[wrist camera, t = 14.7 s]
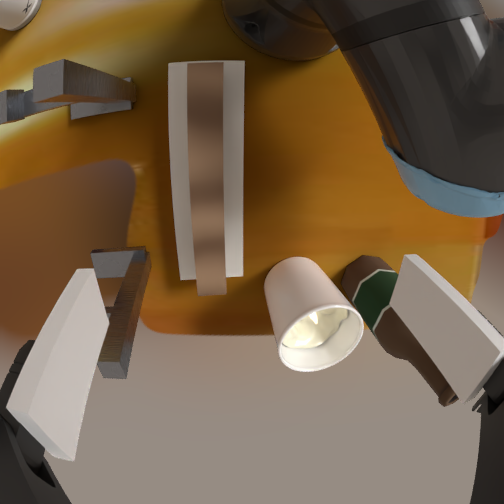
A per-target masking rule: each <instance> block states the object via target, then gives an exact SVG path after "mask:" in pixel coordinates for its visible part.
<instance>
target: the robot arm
mask: <svg viewBox="0 0 504 504" xmlns="http://www.w3.org/2000/svg"><path fill="white" fill-rule="evenodd" d="M222 7H223V12H224V15H225V17H226V20H227V22H228V24H229V25H230V27H231V28H232V30H233V31H234V32H235V33H236V35H237V36H238V37H239V38H240V39H242V40H243V41H244V42H245V43H246V44H248V45H249V46H251V47H252V48H254V49H256V50H257V51H259V52H261V53H264V54H266V55H269V56H272V57H275V58H279V59H283V60H291V61H305V60H311V59H316V58H319V57H322V56H324V55H327V54H329V53H332V52H334V51H336V50H337V49H339V48H340V50H341V52H342V54H343V56H344V57H345V59H346V61H347V63H348V65H349V66H350V68H351V70H352V72H353V74H354V76H355V77H356V79H357V81H358V83H359V85H360V87H361V89H362V91H363V93H364V95H365V97H366V99H367V101H368V103H369V105H370V107H371V110H372V112H373V114H374V116H375V118H376V120H377V123H378V125H379V127H380V130H381V132H382V134H383V136H382V140H383V143H384V145H385V147H386V149H387V151H388V152H389V153H390V155H391V156H392V158H393V160H394V162H395V165H396V167H397V169H398V172H399V174H400V176H401V179H402V180H403V182H404V184H405V185H406V187H407V188H408V189H409V190H410V191H411V192H412V193H413V194H414V195H415V196H416V197H418V198H420V199H422V200H424V201H425V202H426V203H427V204H428V205H430V206H431V207H433V208H436V209H438V210H441V211H443V212H446V213H450V214H454V215H458V216H465V217H491V216H497V215H501V214H503V213H504V17H503V18H496V19H488V17H487V15H486V14H485V11H484V9H483V7H482V5H481V3H480V2H479V0H222ZM389 304H390V306H391V307H392V308H393V309H394V311H395V312H396V313H397V314H398V316H399V317H400V318H401V319H402V321H403V322H404V323H405V325H406V326H407V327H408V328H409V330H410V331H411V332H412V334H413V335H414V336H415V338H416V339H417V340H418V342H419V343H420V344H421V346H422V347H423V348H424V350H425V351H426V352H427V354H428V355H429V356H430V358H431V359H432V360H433V362H434V363H435V365H436V366H437V367H438V369H439V370H440V372H441V373H442V374H443V376H444V377H445V379H446V380H447V382H448V383H449V384H450V386H451V387H452V389H453V390H454V392H455V393H456V395H457V396H458V398H459V399H460V401H461V402H462V403H463V404H464V403H466V402H468V401H470V400H471V399H473V398H475V396H476V395H477V394H478V393H479V391H480V390H481V389H482V387H483V388H484V390H485V392H484V394H483V395H482V396H481V397H480V399H479V400H478V401H477V402H476V404H475V405H474V406H473V408H472V411H474V410H475V409H476V408H477V407H478V406H479V405H480V404H481V406H480V408H479V409H478V410H477V412H479V413H481V429H480V443H479V453H478V462H477V468H476V475H475V481H474V486H473V492H472V496H471V501H470V504H504V337H503V336H502V335H501V333H500V332H499V331H498V330H497V329H496V328H495V327H494V326H492V324H491V323H490V322H489V321H488V320H486V318H485V317H484V316H483V315H482V314H481V313H480V311H478V310H477V309H475V308H474V307H473V306H472V305H471V304H470V303H469V302H468V301H467V300H466V299H465V298H464V297H463V296H462V295H461V294H460V293H459V292H458V291H457V290H456V289H455V288H454V287H453V286H452V285H450V284H449V283H448V282H447V281H446V280H445V279H444V278H443V277H442V276H441V275H440V274H438V273H437V272H436V271H435V270H434V269H433V268H432V267H431V266H429V265H428V264H427V263H426V262H425V261H424V260H423V259H421V258H420V257H419V256H418V255H417V254H411V255H404V258H403V262H402V265H401V269H400V272H399V275H398V279H397V282H396V285H395V288H394V291H393V294H392V297H391V300H390V303H389ZM108 326H109V320H108V317H107V314H106V311H105V307H104V304H103V301H102V297H101V294H100V290H99V287H98V283H97V279H96V275H95V271H94V268H93V269H77V270H76V272H75V273H74V275H73V276H72V278H71V280H70V281H69V283H68V284H67V286H66V288H65V289H64V291H63V293H62V294H61V296H60V298H59V299H58V301H57V303H56V304H55V306H54V308H53V310H52V312H51V313H50V315H49V317H48V318H47V320H46V322H45V324H44V326H43V328H42V330H41V331H40V333H39V335H38V337H37V339H36V341H35V340H29V341H28V342H27V343H26V344H25V345H24V346H23V347H22V348H21V349H20V350H19V352H18V354H17V356H16V358H15V360H14V364H12V366H11V368H10V370H9V373H8V374H7V376H6V378H5V381H4V383H3V385H2V388H1V390H0V504H72V503H71V502H70V500H69V499H68V497H67V496H66V494H65V492H64V491H63V489H62V487H61V486H60V484H59V482H58V480H57V479H56V477H55V475H54V473H53V471H52V469H51V467H50V466H49V464H48V462H47V460H46V459H45V458H44V456H43V455H44V451H45V449H46V450H47V451H48V452H49V453H50V454H51V455H52V456H53V457H56V458H60V459H65V460H69V461H74V460H75V454H76V448H77V443H78V438H79V433H80V428H81V424H82V419H83V414H84V410H85V406H86V402H87V397H88V394H89V390H90V386H91V382H92V379H93V375H94V371H95V368H96V364H97V361H98V358H99V354H100V351H101V348H102V345H103V341H104V338H105V335H106V332H107V329H108Z"/></svg>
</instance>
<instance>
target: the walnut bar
mask: <svg viewBox="0 0 504 504" xmlns="http://www.w3.org/2000/svg"><path fill="white" fill-rule="evenodd" d="M223 69H224V62H205V63H187V133H188V165H189V187H190V205H191V221H192V235H193V248H194V259H195V270H196V281H197V291H198V296H207V295H222V294H227V291H226V264H225V230H224V179H223Z"/></svg>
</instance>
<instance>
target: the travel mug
mask: <svg viewBox="0 0 504 504" xmlns="http://www.w3.org/2000/svg"><path fill="white" fill-rule="evenodd" d="M41 2H42V0H0V28H3V29H7V30H10V31H15V30H18V29H20V28H22V27H24V26H25V25H26V24H28V23H29V22H30V21H31V20H32V19H33V17H34V16H35V15H36V13H37V12H38V10H39V8H40V5H41Z"/></svg>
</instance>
